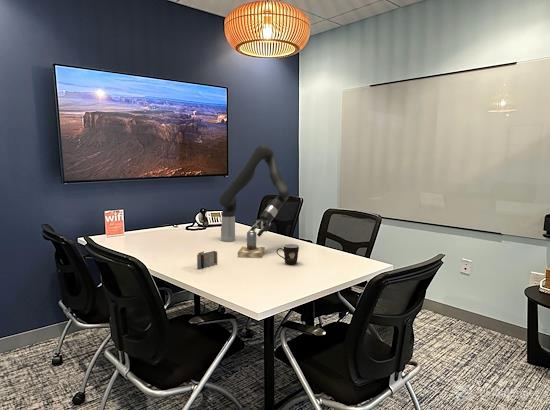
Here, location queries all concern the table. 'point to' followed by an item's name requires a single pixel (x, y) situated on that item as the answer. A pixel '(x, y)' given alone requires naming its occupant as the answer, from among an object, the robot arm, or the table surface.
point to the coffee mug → (290, 253)
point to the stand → (251, 252)
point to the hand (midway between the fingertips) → (253, 234)
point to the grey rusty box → (206, 259)
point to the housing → (251, 240)
